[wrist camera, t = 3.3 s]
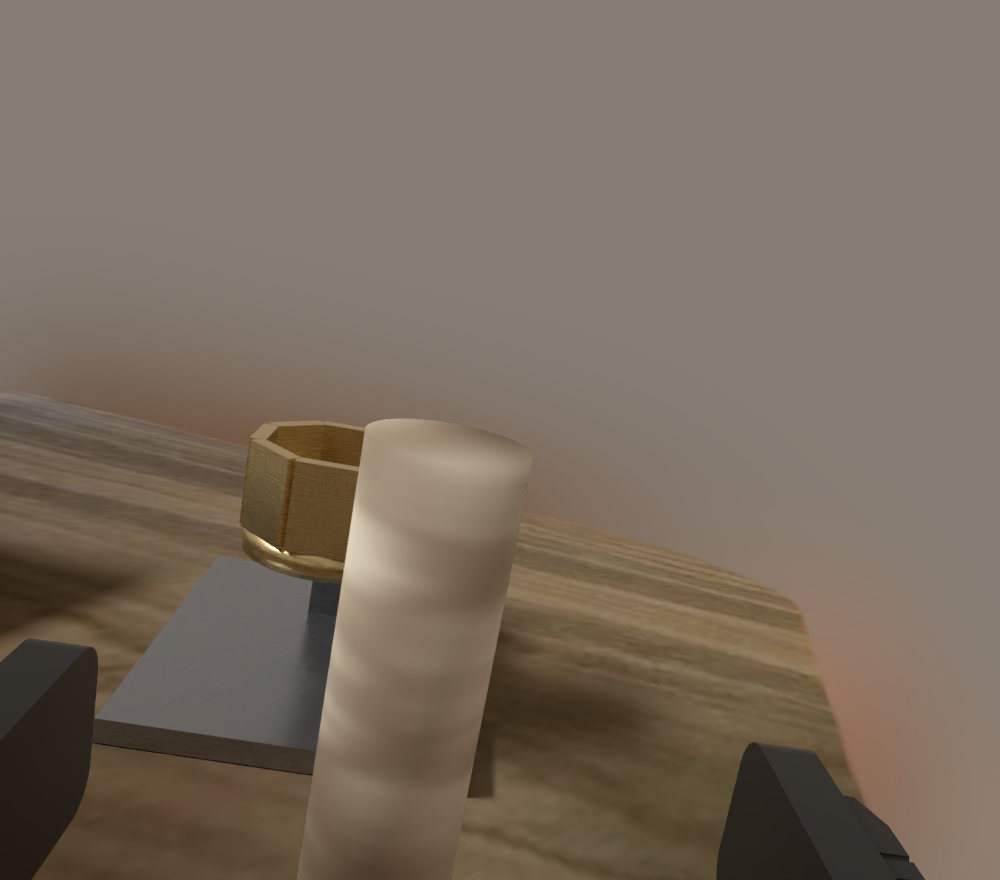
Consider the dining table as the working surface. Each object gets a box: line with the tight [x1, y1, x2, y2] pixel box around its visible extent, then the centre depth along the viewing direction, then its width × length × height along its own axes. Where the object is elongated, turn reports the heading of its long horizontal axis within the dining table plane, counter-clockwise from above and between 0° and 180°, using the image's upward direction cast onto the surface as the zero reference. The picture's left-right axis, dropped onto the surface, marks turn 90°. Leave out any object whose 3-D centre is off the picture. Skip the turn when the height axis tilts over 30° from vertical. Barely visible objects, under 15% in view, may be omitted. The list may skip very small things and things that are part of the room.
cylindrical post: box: [297, 419, 533, 880], centre depth 24 cm, size 4×4×16 cm
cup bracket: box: [92, 421, 365, 775], centre depth 42 cm, size 17×14×12 cm
